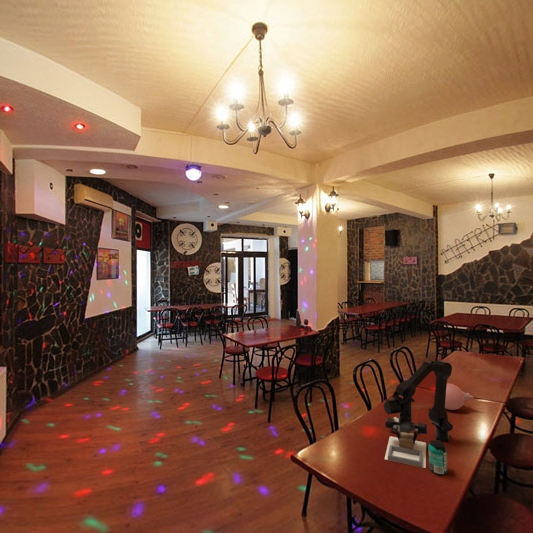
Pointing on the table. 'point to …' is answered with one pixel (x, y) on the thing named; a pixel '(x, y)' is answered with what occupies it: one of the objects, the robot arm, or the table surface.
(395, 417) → the game die
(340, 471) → the table surface
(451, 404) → the balloon
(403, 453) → the mat
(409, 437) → the card box
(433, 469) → the beverage can
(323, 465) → the table surface
